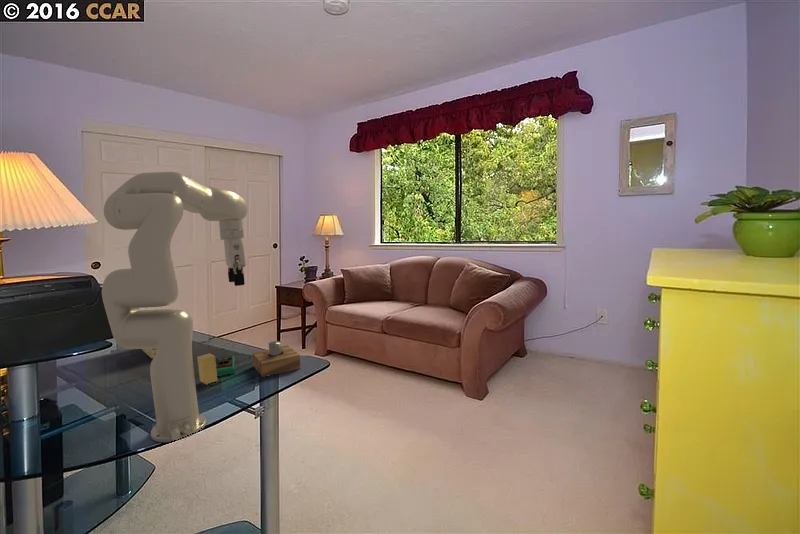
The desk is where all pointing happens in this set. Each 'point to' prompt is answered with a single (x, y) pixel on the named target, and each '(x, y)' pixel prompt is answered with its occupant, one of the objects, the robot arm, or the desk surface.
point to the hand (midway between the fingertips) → (236, 283)
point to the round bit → (274, 348)
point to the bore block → (276, 361)
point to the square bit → (207, 368)
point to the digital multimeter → (225, 365)
